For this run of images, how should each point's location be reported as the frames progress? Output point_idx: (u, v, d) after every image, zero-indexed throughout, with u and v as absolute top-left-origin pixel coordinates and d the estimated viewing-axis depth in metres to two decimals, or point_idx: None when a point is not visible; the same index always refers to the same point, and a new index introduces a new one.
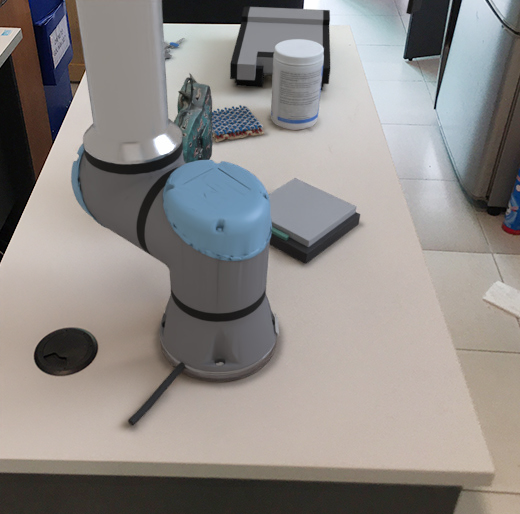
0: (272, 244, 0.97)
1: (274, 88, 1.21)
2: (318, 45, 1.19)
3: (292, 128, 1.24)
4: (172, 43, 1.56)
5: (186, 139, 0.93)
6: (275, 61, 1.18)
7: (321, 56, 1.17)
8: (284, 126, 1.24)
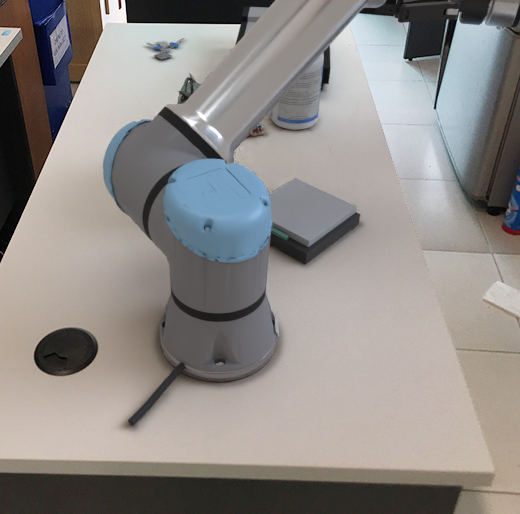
0: (272, 244, 0.97)
1: None
2: None
3: (292, 128, 1.24)
4: (172, 43, 1.56)
5: None
6: None
7: (321, 56, 1.17)
8: (284, 126, 1.24)
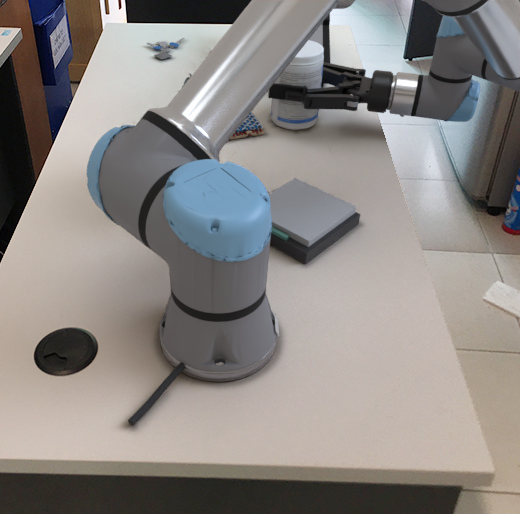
0: (272, 244, 0.97)
1: None
2: (318, 45, 1.19)
3: (292, 128, 1.24)
4: (172, 43, 1.56)
5: None
6: None
7: (321, 56, 1.17)
8: (284, 126, 1.24)
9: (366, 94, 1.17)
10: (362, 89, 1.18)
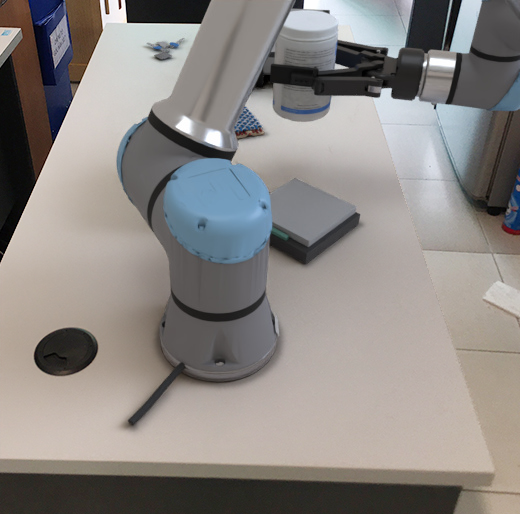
0: (272, 244, 0.97)
1: None
2: (331, 17, 0.96)
3: (299, 120, 1.01)
4: (172, 43, 1.56)
5: None
6: (278, 36, 0.95)
7: (335, 30, 0.94)
8: (289, 118, 1.01)
9: (391, 77, 0.94)
10: (385, 71, 0.95)
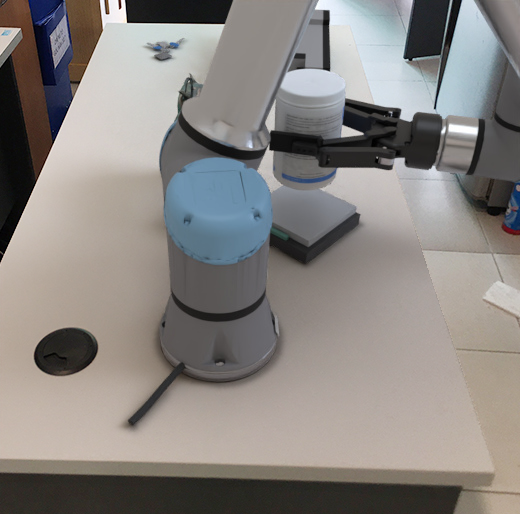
0: (272, 244, 0.97)
1: None
2: (338, 78, 0.86)
3: (302, 189, 0.91)
4: (172, 43, 1.56)
5: None
6: (278, 100, 0.85)
7: (342, 94, 0.84)
8: (291, 186, 0.91)
9: (405, 146, 0.84)
10: (398, 138, 0.85)
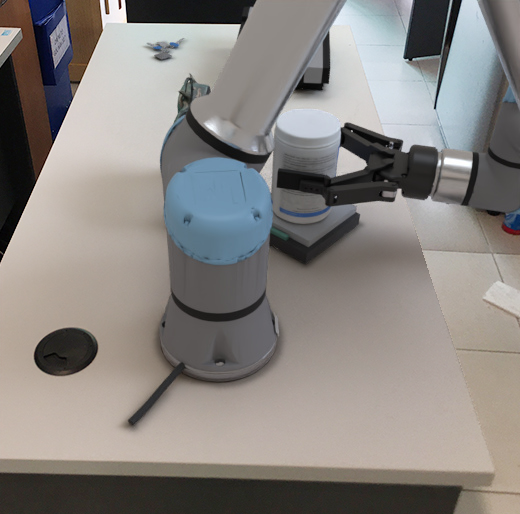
0: (272, 244, 0.97)
1: (275, 172, 0.93)
2: (333, 118, 0.90)
3: (298, 222, 0.95)
4: (172, 43, 1.56)
5: None
6: (276, 140, 0.89)
7: (338, 134, 0.88)
8: (288, 220, 0.95)
9: (402, 178, 0.87)
10: (396, 170, 0.88)
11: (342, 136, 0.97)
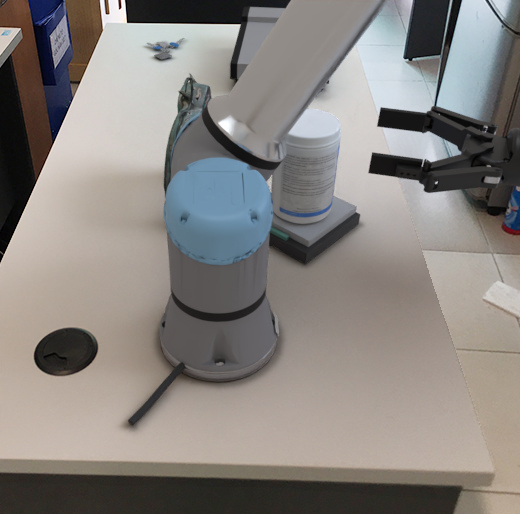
0: (272, 244, 0.97)
1: (275, 172, 0.93)
2: (333, 118, 0.90)
3: (298, 222, 0.95)
4: (172, 43, 1.56)
5: None
6: None
7: (338, 134, 0.88)
8: (288, 220, 0.95)
9: (504, 163, 0.82)
10: (496, 155, 0.83)
11: (430, 120, 0.92)
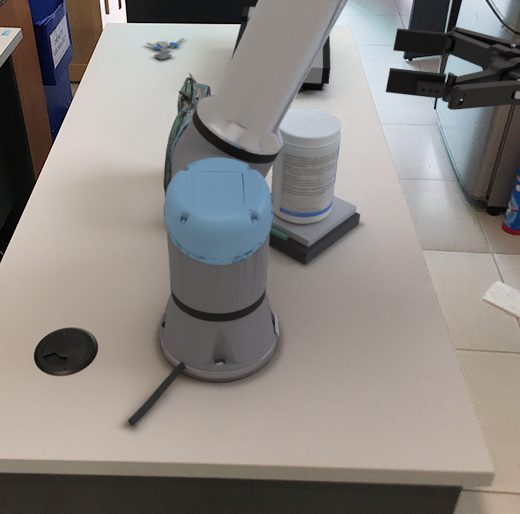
0: (272, 244, 0.97)
1: (275, 172, 0.93)
2: (333, 118, 0.90)
3: (298, 222, 0.95)
4: (172, 43, 1.56)
5: None
6: None
7: (338, 134, 0.88)
8: (288, 220, 0.95)
9: None
10: None
11: (451, 41, 0.84)
